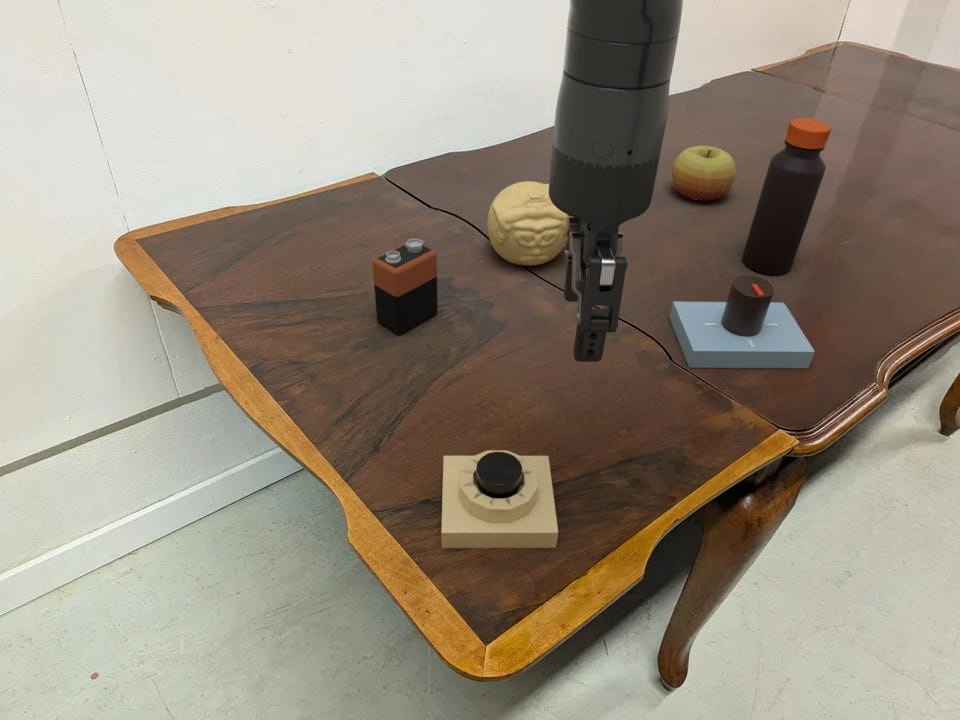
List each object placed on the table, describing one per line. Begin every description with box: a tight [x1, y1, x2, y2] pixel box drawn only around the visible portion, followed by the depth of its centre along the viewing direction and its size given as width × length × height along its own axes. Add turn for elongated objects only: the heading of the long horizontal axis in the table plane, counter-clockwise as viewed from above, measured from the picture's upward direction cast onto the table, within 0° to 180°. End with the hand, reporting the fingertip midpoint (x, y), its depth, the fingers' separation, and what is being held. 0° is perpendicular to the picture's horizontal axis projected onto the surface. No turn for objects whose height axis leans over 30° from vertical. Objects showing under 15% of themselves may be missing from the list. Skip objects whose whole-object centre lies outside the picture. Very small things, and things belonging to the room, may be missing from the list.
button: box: [476, 452, 522, 498], centre depth 62 cm, size 4×4×2 cm
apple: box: [671, 145, 737, 201], centre depth 115 cm, size 10×10×8 cm
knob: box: [721, 275, 775, 336], centre depth 83 cm, size 5×5×6 cm
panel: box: [669, 301, 816, 369], centre depth 85 cm, size 14×10×3 cm
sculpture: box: [486, 180, 567, 267], centre depth 98 cm, size 12×12×11 cm
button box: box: [440, 449, 559, 549], centre depth 64 cm, size 10×9×4 cm
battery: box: [371, 238, 439, 335], centre depth 85 cm, size 4×7×10 cm, turn 137°
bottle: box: [741, 117, 832, 276], centre depth 94 cm, size 7×7×20 cm
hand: (581, 327), depth 60 cm, fingers open, 8 cm apart
